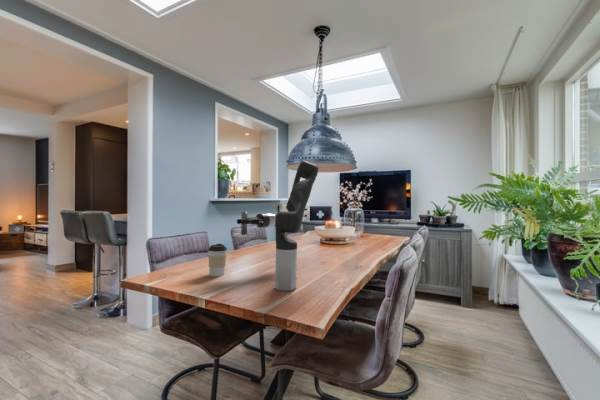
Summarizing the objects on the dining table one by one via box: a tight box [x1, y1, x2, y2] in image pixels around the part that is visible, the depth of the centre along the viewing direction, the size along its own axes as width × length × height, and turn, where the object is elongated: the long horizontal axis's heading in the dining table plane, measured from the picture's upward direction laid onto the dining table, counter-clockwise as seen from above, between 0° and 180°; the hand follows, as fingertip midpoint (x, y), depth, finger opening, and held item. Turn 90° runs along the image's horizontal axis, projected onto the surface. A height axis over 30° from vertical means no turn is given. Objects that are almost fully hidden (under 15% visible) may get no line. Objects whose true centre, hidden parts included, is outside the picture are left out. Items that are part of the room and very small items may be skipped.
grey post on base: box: [232, 211, 256, 238], centre depth 146 cm, size 11×11×12 cm
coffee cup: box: [207, 243, 228, 278], centre depth 145 cm, size 9×9×15 cm
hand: (239, 221), depth 144 cm, fingers closed on grey post on base, 3 cm apart
